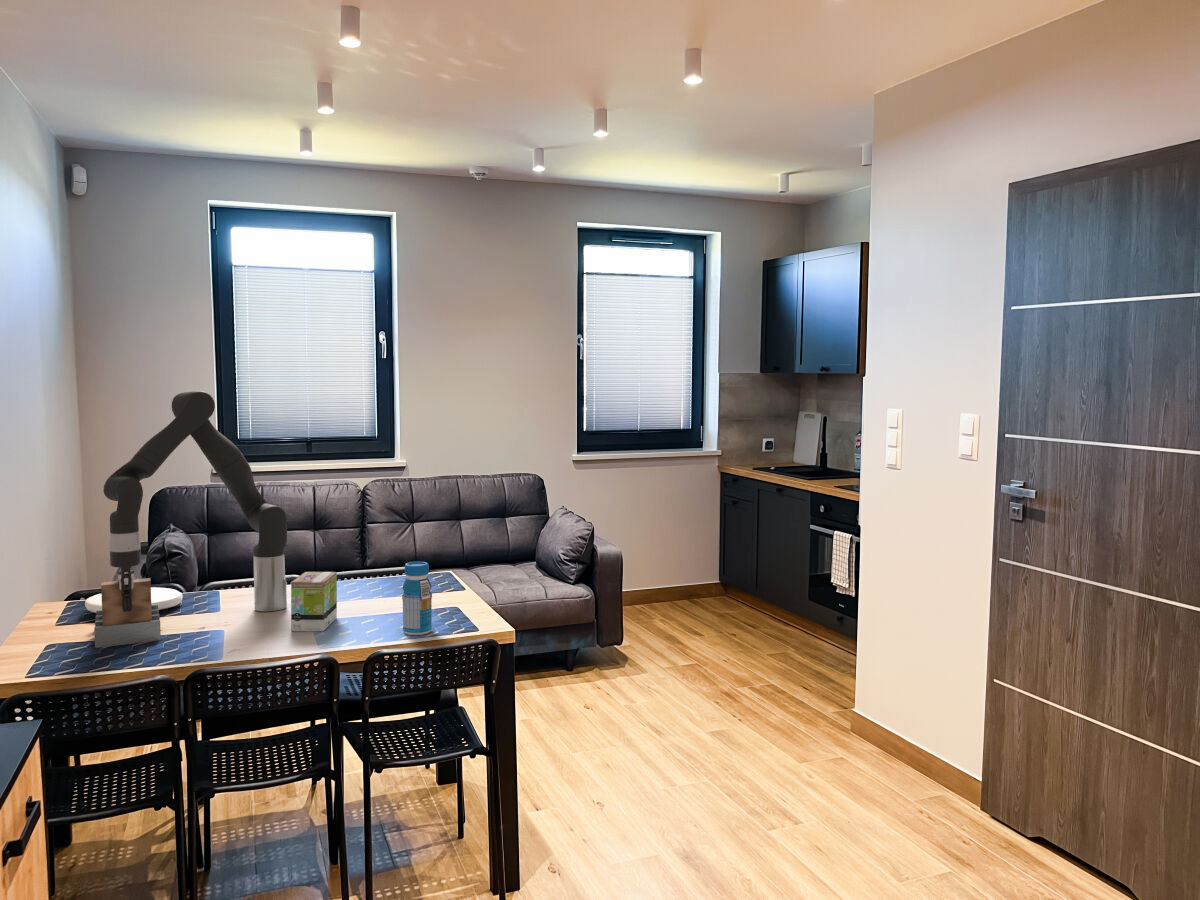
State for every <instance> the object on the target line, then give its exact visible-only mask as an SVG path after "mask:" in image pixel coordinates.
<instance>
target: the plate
mask: <svg viewBox="0 0 1200 900" xmlns="http://www.w3.org/2000/svg"><path fill="white" fill-rule="evenodd" d="M183 596H184V595H183V593H182V592H180V591H179V590H177V589H173V588H169V587H168V588H166V587H152V586H151V605H158V609H159V611H160V610H165V609H166V610H167V609H169V608H172V607H175V606H178V605H179V604H181V603H182V602H183ZM84 606H85V608H86V610H87V611H89V612H92V613H94V614H96V611H98V610H102V594H101V593H98V594H95V595H93V596H90V597H88V598H86V600H85V603H84Z"/></svg>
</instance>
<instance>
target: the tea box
mask: <svg viewBox="0 0 1200 900" xmlns="http://www.w3.org/2000/svg"><path fill="white" fill-rule="evenodd" d="M337 574H338V573H337V572H336V571H304V572H303V573H302V574H300V575H299V576H297V577H296V578H294V580H292V581H291V583H290V586H291V587H290V598H291V599H290V631H291V632H325V630H326V629H327V628H328V627H329V626H330V625H331V624H332V623H333V622H334V621H335V620H336V619H337V618H338V615H337V614H338V609H337V606H338V599H337V598H338V594H337V593H338V589H337V588H338V581H337V580H338V575H337Z"/></svg>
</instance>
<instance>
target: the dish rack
mask: <svg viewBox="0 0 1200 900" xmlns="http://www.w3.org/2000/svg"><path fill="white" fill-rule="evenodd" d="M151 608H152V621H145V622H135V623H126V624H117V625H108V626H103V620H102V610H98V611H96V613H95V614H96V615H95V621H94V628H93V631H94V633H93V634H94V649H97V648H98V649H99V648H107V647H112V646H113V647H115V646H124V645H132V644H140V643H147V642H148V643H149V642H156V641H157V642H158V641H161V640H162V637H161V636H162V633H161V620H160V619H161V618H160V613H159V612H160V610H159V609H158V605H151Z"/></svg>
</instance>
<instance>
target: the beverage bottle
mask: <svg viewBox="0 0 1200 900" xmlns="http://www.w3.org/2000/svg"><path fill="white" fill-rule="evenodd" d="M429 568H430V566H429V563H428V562H427V561H409V562H407V563H405V565H404V576H405V577H406V578H405V579H404V581H403V584H402V588H401V589H402V590H403V592H402V595H401V599H402V624H403V625H402V631H403V634H405V635H409V636H422V635H426V634H429V633H431V632H432V630H433V626H432V617H433V616H432V608H433V607H432V606H433V605H432V599H433V595H432V594H433V593H432V591H431V590H432V582H431V581H430V579H429V578H428V577H427V576H428V575H429V573H430V570H429Z"/></svg>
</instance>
